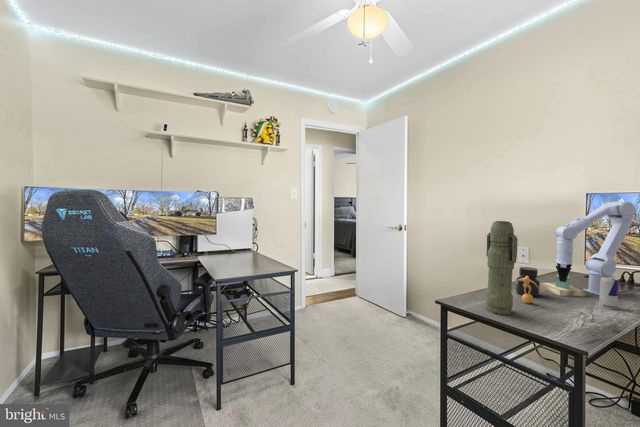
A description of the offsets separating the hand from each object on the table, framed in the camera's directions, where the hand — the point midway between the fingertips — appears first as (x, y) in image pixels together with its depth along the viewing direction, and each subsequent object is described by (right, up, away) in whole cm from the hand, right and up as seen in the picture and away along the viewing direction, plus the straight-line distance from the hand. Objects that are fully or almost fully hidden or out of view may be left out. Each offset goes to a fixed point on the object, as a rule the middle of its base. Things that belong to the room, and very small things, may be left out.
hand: (563, 280), depth 139 cm
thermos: (-47, -6, -25) cm, 54 cm away
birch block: (0, -6, 0) cm, 6 cm away
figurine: (-30, -6, -17) cm, 35 cm away
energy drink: (+2, -7, -20) cm, 21 cm away
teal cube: (0, -3, 0) cm, 3 cm away
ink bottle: (-20, -6, -4) cm, 21 cm away
